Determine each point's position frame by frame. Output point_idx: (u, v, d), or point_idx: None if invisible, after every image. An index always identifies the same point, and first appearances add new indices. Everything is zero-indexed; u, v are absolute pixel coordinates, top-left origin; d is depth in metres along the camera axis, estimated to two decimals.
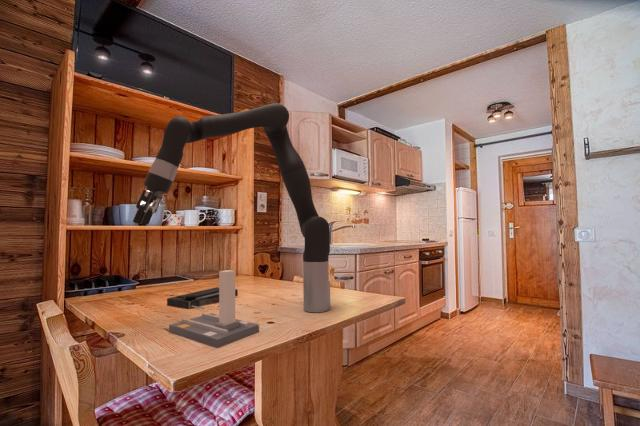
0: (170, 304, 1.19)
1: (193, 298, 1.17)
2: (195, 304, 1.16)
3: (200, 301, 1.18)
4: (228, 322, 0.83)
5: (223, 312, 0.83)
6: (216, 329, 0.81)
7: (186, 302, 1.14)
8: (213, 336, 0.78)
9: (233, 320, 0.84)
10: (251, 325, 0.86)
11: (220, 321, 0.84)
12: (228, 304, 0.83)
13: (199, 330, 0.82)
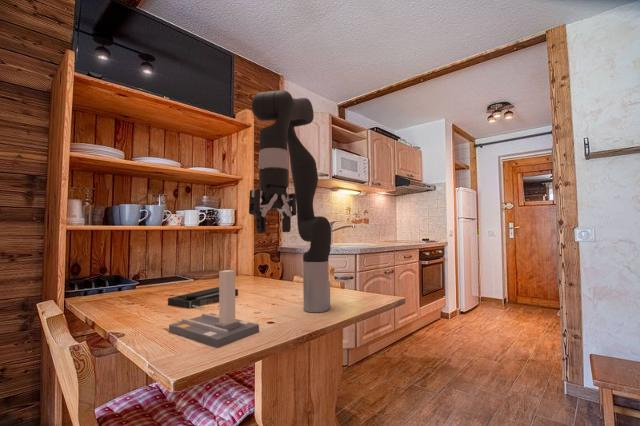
0: (171, 304, 1.19)
1: (194, 298, 1.18)
2: (196, 304, 1.16)
3: (201, 301, 1.18)
4: (228, 322, 0.83)
5: (223, 312, 0.83)
6: (216, 329, 0.81)
7: (187, 301, 1.15)
8: (213, 336, 0.78)
9: (233, 320, 0.84)
10: (251, 325, 0.86)
11: (220, 321, 0.84)
12: (228, 304, 0.83)
13: (199, 330, 0.82)
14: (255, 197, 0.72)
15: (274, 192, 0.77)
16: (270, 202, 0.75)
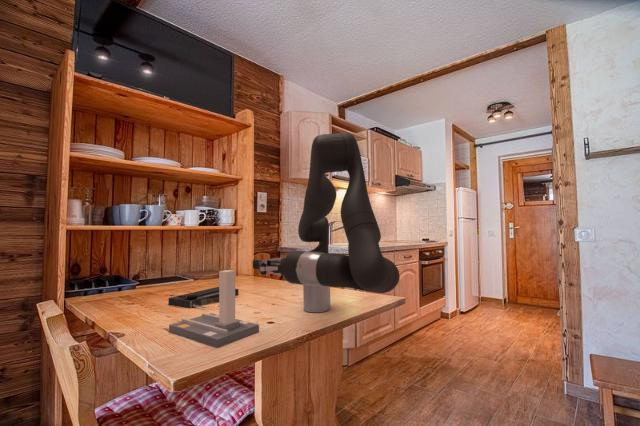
0: (171, 304, 1.20)
1: (194, 297, 1.18)
2: (196, 303, 1.17)
3: (201, 300, 1.19)
4: (228, 322, 0.83)
5: (223, 312, 0.83)
6: (216, 329, 0.81)
7: (188, 301, 1.15)
8: (213, 336, 0.78)
9: (233, 320, 0.84)
10: (251, 325, 0.86)
11: (220, 321, 0.84)
12: (228, 304, 0.83)
13: (199, 330, 0.82)
14: None
15: None
16: (273, 273, 0.73)
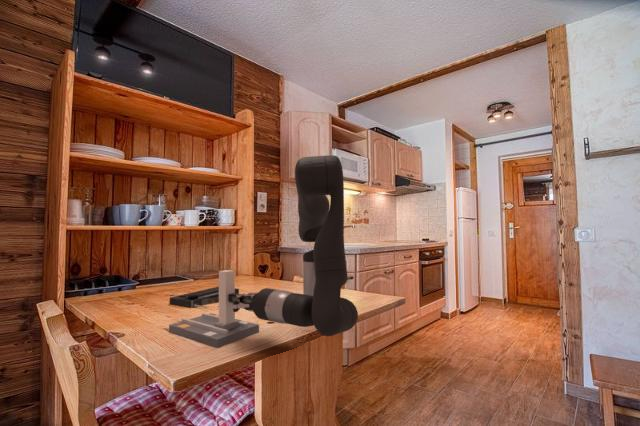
0: (173, 303, 1.20)
1: (195, 297, 1.19)
2: (198, 303, 1.17)
3: (202, 300, 1.19)
4: (228, 322, 0.83)
5: (223, 312, 0.83)
6: (216, 329, 0.81)
7: (189, 301, 1.16)
8: (213, 336, 0.78)
9: (233, 320, 0.84)
10: (251, 325, 0.86)
11: (220, 321, 0.84)
12: (228, 304, 0.83)
13: (199, 330, 0.82)
14: None
15: None
16: None
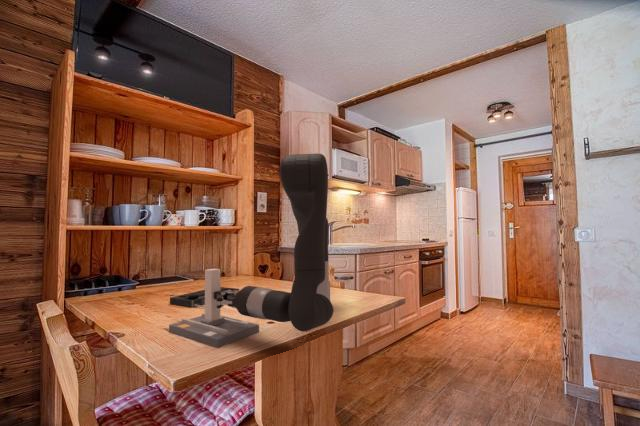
0: (173, 303, 1.20)
1: (196, 297, 1.19)
2: (198, 303, 1.18)
3: (203, 300, 1.19)
4: (213, 318, 0.87)
5: (208, 309, 0.87)
6: (216, 329, 0.81)
7: (190, 301, 1.16)
8: (213, 336, 0.78)
9: (218, 316, 0.88)
10: (251, 325, 0.86)
11: (205, 317, 0.88)
12: (213, 302, 0.87)
13: (199, 330, 0.82)
14: None
15: None
16: None
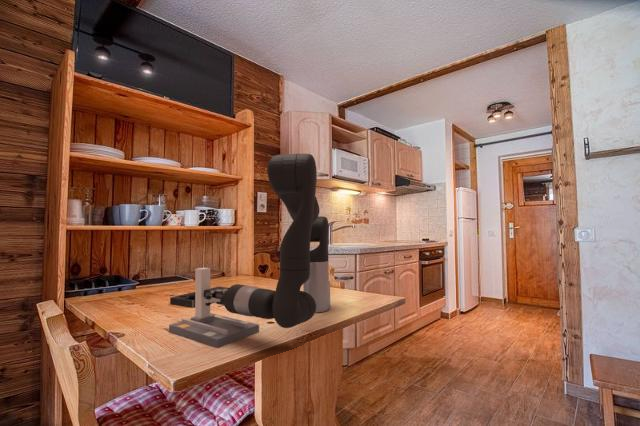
0: (173, 303, 1.20)
1: None
2: None
3: None
4: (203, 316, 0.89)
5: (198, 307, 0.90)
6: (216, 329, 0.81)
7: (190, 301, 1.16)
8: (213, 336, 0.78)
9: (208, 314, 0.91)
10: (251, 325, 0.86)
11: (196, 315, 0.90)
12: (203, 300, 0.90)
13: (199, 330, 0.82)
14: None
15: None
16: None
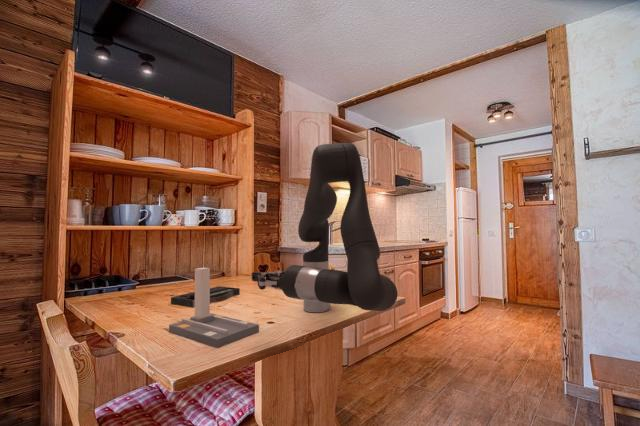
0: (174, 303, 1.21)
1: None
2: None
3: None
4: (202, 316, 0.90)
5: (198, 306, 0.90)
6: (216, 329, 0.81)
7: (191, 300, 1.16)
8: (213, 336, 0.78)
9: (207, 314, 0.91)
10: (251, 325, 0.86)
11: (195, 315, 0.90)
12: (203, 299, 0.90)
13: (199, 330, 0.82)
14: None
15: None
16: (272, 287, 0.74)
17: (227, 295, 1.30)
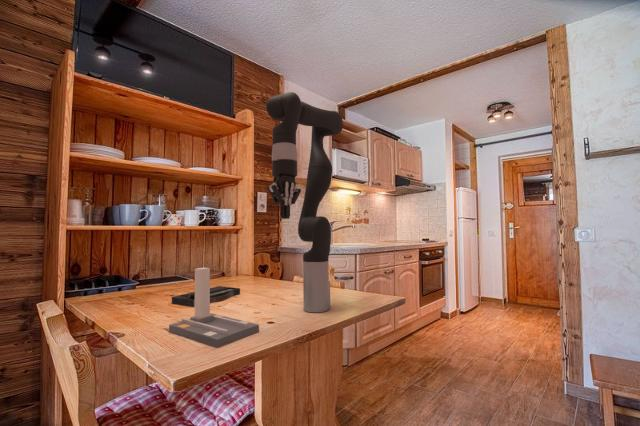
0: (175, 302, 1.21)
1: None
2: None
3: None
4: (202, 316, 0.90)
5: (198, 306, 0.90)
6: (216, 329, 0.81)
7: (192, 300, 1.17)
8: (213, 336, 0.78)
9: (207, 314, 0.91)
10: (251, 325, 0.86)
11: (195, 315, 0.90)
12: (203, 299, 0.90)
13: (199, 330, 0.82)
14: (275, 192, 0.86)
15: (285, 180, 0.90)
16: (286, 191, 0.89)
17: (228, 295, 1.30)
